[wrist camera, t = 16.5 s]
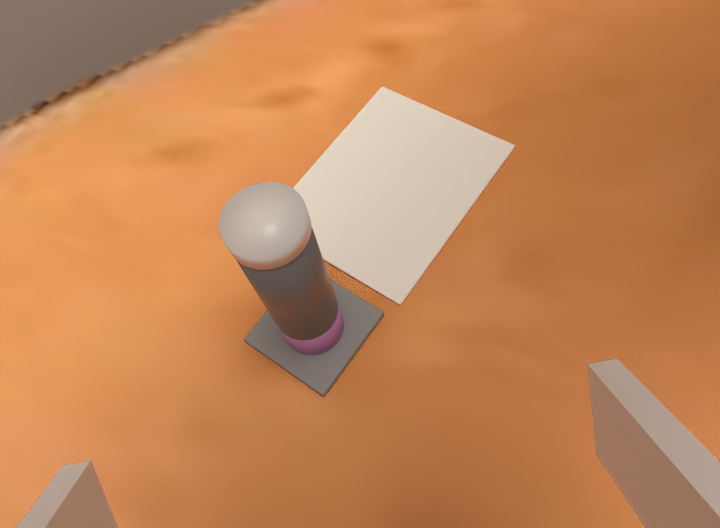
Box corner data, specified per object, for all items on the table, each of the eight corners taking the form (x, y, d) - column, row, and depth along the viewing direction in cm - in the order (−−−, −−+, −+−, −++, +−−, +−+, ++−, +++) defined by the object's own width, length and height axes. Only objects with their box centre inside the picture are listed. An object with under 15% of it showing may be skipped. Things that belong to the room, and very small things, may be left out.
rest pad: (306, 267, 37) (305, 264, 36) (384, 314, 35) (383, 312, 34) (245, 341, 35) (243, 339, 35) (324, 397, 33) (322, 395, 32)
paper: (382, 88, 43) (382, 86, 43) (514, 147, 39) (515, 145, 39) (263, 224, 39) (262, 222, 39) (400, 306, 35) (400, 304, 35)
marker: (308, 287, 36) (257, 168, 25) (357, 317, 34) (325, 206, 24) (271, 334, 34) (200, 231, 24) (319, 367, 33) (268, 274, 23)
